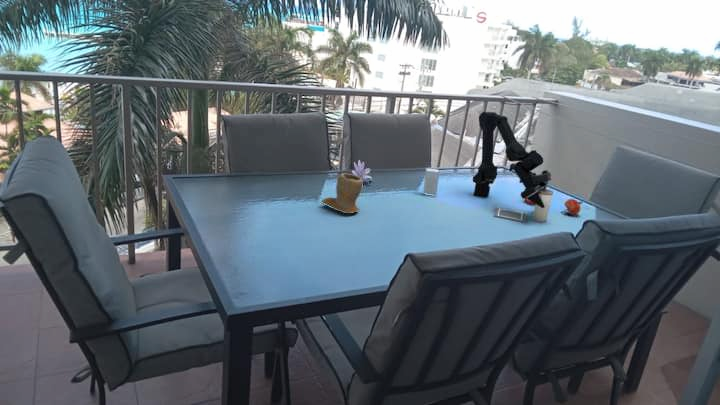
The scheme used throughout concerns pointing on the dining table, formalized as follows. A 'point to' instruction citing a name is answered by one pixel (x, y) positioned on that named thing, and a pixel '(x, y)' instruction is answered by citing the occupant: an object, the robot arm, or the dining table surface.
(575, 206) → the pomegranate
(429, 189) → the skincare box
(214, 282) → the dining table surface
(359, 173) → the water lily
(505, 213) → the mat
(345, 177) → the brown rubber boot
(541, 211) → the tumbler
